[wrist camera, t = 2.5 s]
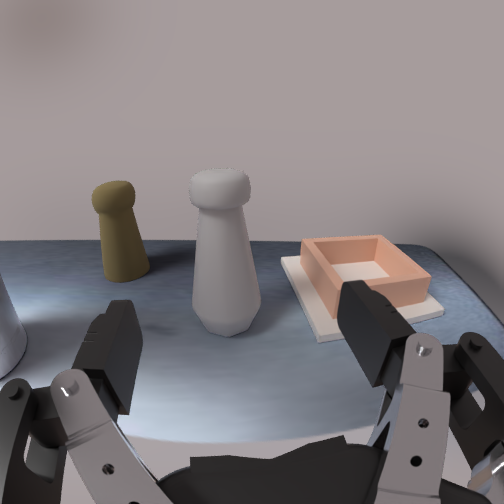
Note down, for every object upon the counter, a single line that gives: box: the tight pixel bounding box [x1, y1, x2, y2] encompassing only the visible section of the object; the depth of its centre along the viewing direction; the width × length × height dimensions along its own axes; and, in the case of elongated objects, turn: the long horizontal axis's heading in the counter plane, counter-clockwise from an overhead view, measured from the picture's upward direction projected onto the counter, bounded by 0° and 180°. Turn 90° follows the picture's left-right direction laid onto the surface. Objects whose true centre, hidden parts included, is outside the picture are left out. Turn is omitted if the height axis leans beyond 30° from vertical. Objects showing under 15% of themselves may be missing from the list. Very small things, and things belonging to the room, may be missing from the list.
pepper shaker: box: [92, 181, 150, 282], centre depth 31 cm, size 6×6×11 cm
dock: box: [281, 235, 445, 343], centre depth 28 cm, size 14×14×4 cm
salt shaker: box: [189, 168, 261, 337], centre depth 22 cm, size 6×6×13 cm
